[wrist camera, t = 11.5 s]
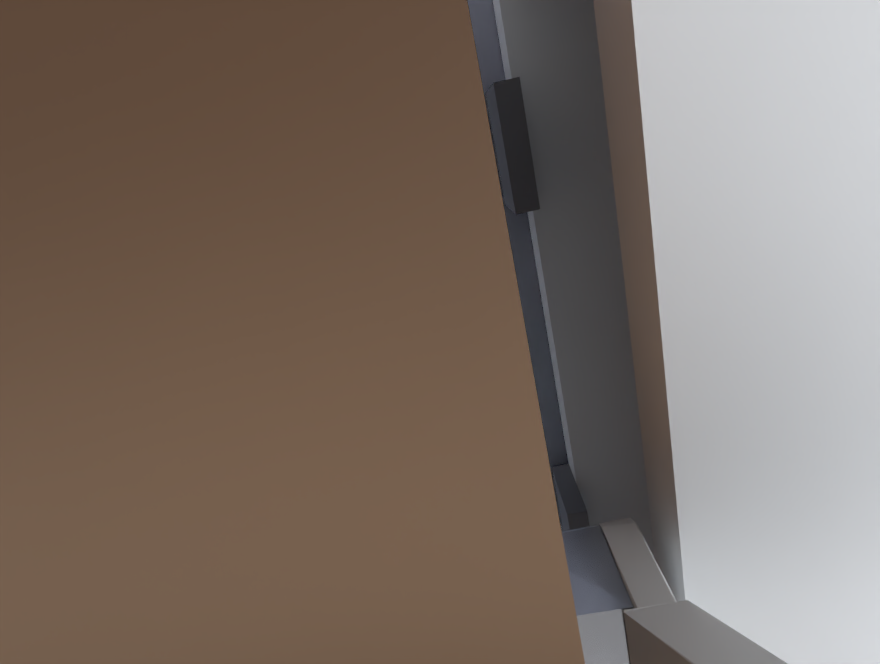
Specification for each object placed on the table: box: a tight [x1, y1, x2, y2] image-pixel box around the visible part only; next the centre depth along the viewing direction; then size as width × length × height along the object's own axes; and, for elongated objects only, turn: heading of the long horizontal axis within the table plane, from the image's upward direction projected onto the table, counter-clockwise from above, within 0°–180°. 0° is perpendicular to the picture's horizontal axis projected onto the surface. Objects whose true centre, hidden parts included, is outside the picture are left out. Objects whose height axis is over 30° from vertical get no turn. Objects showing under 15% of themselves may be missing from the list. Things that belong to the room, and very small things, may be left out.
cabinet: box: [485, 0, 880, 664], centre depth 12 cm, size 22×21×10 cm
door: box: [0, 0, 585, 664], centre depth 9 cm, size 20×4×10 cm, turn 12°
